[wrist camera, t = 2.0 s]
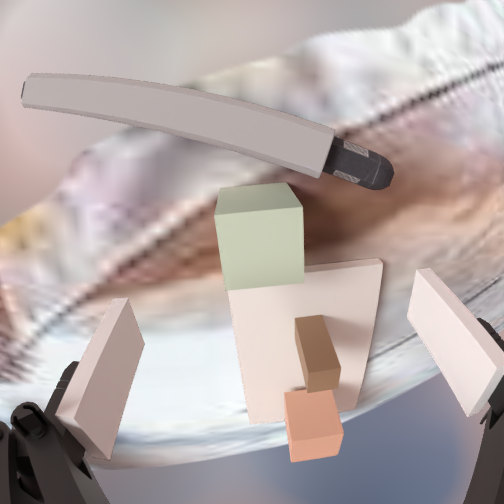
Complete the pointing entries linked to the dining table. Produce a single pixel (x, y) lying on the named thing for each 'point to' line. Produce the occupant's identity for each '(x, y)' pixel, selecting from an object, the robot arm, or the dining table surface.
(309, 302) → the stand
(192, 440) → the dining table surface
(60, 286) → the dining table surface
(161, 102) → the grey curved bar
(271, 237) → the pale green block
